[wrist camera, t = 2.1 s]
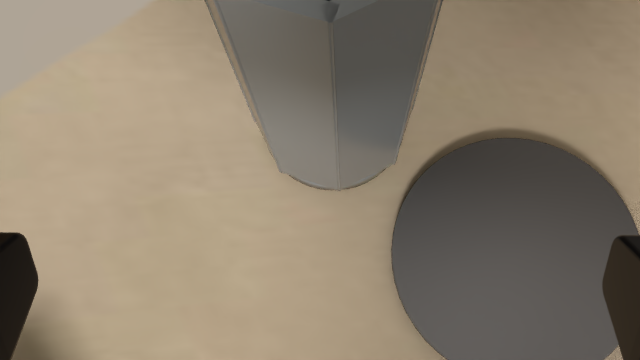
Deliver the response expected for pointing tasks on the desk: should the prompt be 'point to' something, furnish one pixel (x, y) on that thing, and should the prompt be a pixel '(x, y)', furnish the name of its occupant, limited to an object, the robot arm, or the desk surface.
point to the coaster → (509, 253)
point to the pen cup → (328, 79)
